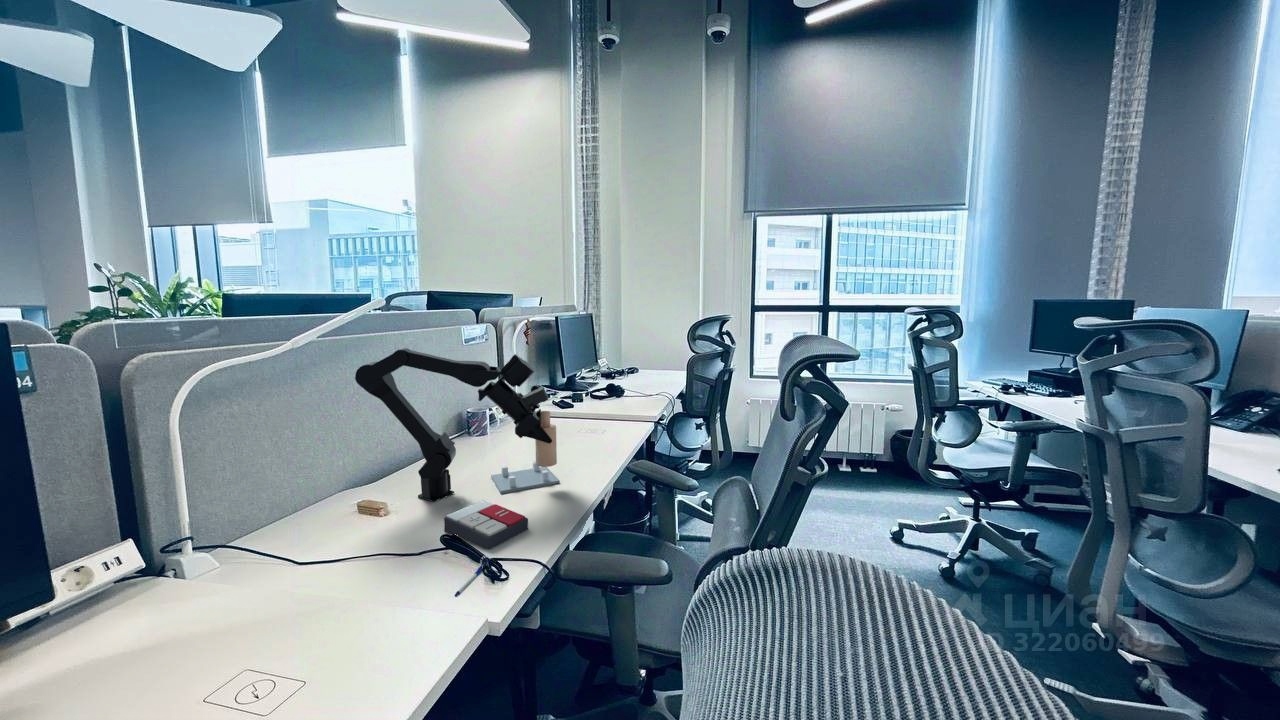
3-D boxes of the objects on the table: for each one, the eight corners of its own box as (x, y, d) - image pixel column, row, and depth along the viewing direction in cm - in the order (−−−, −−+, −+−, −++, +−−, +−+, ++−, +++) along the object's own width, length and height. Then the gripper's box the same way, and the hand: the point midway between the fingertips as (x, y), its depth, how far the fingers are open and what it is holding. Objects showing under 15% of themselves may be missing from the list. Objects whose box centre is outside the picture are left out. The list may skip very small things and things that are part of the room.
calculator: (488, 535, 100) (443, 513, 108) (489, 554, 101) (443, 532, 109) (529, 515, 109) (483, 496, 117) (528, 533, 110) (484, 514, 118)
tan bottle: (550, 467, 129) (549, 415, 127) (531, 465, 131) (530, 413, 129) (560, 461, 134) (559, 410, 132) (542, 459, 136) (541, 409, 134)
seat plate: (500, 493, 129) (500, 481, 129) (491, 478, 141) (490, 466, 140) (559, 483, 137) (559, 471, 136) (546, 468, 148) (545, 458, 148)
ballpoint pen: (484, 564, 96) (484, 560, 95) (488, 565, 95) (488, 560, 95) (454, 597, 85) (453, 592, 85) (458, 598, 85) (458, 592, 85)
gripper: (527, 383, 120) (574, 426, 123) (530, 372, 138) (571, 409, 141) (494, 416, 119) (542, 458, 123) (502, 400, 138) (543, 437, 141)
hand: (551, 439), depth 132 cm, fingers closed on tan bottle, 5 cm apart
